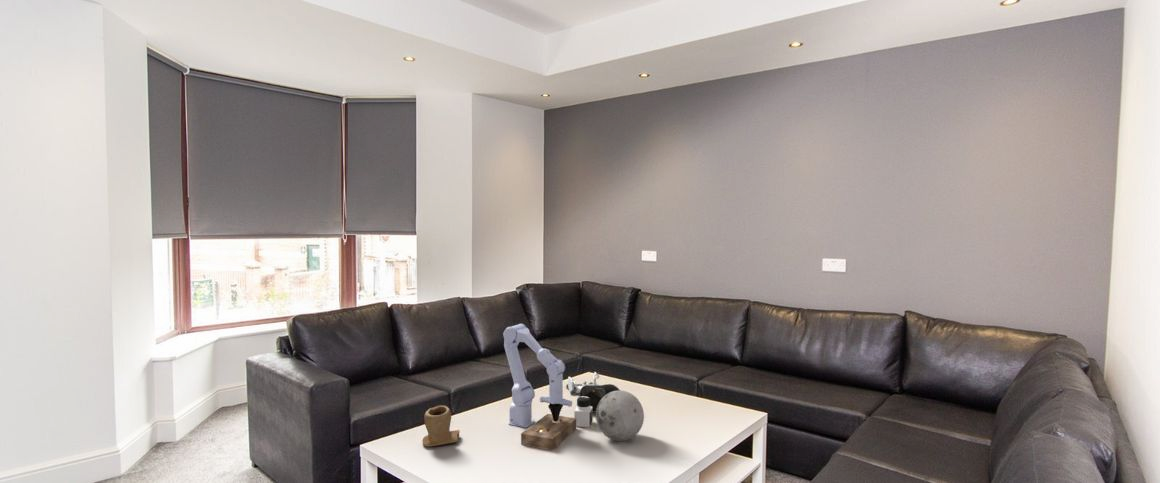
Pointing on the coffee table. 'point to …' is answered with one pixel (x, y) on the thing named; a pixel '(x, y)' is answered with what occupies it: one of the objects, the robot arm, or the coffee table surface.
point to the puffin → (596, 393)
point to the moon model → (619, 415)
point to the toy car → (577, 387)
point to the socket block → (554, 434)
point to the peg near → (543, 431)
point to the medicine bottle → (583, 412)
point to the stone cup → (439, 427)
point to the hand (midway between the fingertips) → (555, 420)
